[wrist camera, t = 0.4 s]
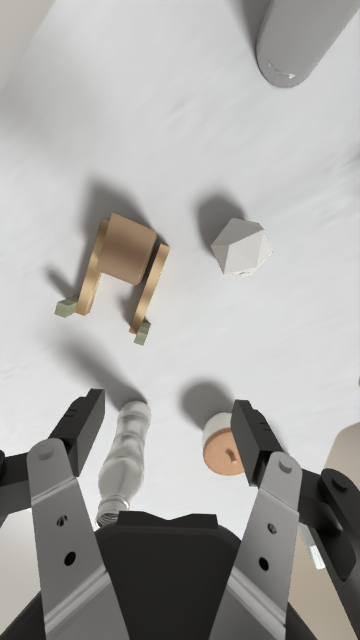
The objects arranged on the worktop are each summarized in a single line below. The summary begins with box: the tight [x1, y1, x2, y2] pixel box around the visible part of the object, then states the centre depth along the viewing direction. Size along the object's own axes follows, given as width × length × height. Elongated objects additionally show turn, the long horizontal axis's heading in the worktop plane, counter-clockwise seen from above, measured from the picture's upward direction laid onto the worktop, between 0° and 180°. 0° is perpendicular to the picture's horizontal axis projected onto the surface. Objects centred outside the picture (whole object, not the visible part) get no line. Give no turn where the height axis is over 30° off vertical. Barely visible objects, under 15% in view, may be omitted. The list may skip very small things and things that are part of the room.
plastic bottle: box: [95, 401, 151, 528], centre depth 35 cm, size 6×7×20 cm
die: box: [211, 218, 273, 277], centre depth 33 cm, size 8×9×10 cm
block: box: [95, 212, 158, 285], centre depth 32 cm, size 8×6×7 cm
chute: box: [55, 218, 170, 345], centre depth 34 cm, size 16×14×6 cm
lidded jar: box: [202, 412, 245, 476], centre depth 42 cm, size 11×11×9 cm
